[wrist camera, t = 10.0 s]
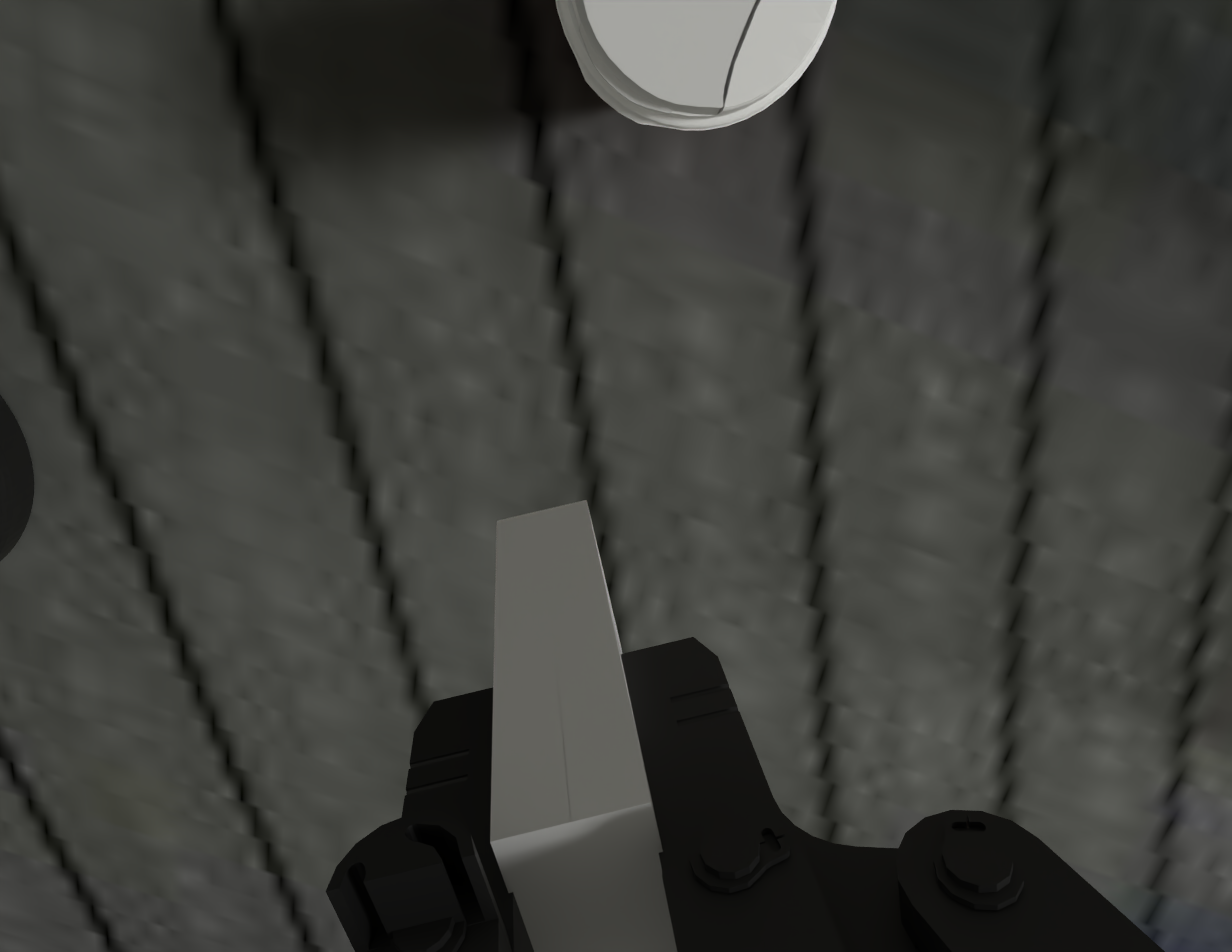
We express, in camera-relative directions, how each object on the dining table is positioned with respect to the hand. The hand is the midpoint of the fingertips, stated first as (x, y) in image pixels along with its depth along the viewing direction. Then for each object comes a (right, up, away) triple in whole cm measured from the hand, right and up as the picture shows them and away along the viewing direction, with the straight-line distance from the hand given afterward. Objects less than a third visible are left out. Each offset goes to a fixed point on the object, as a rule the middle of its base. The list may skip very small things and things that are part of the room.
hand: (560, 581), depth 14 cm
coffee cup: (+2, +21, +22) cm, 31 cm away
